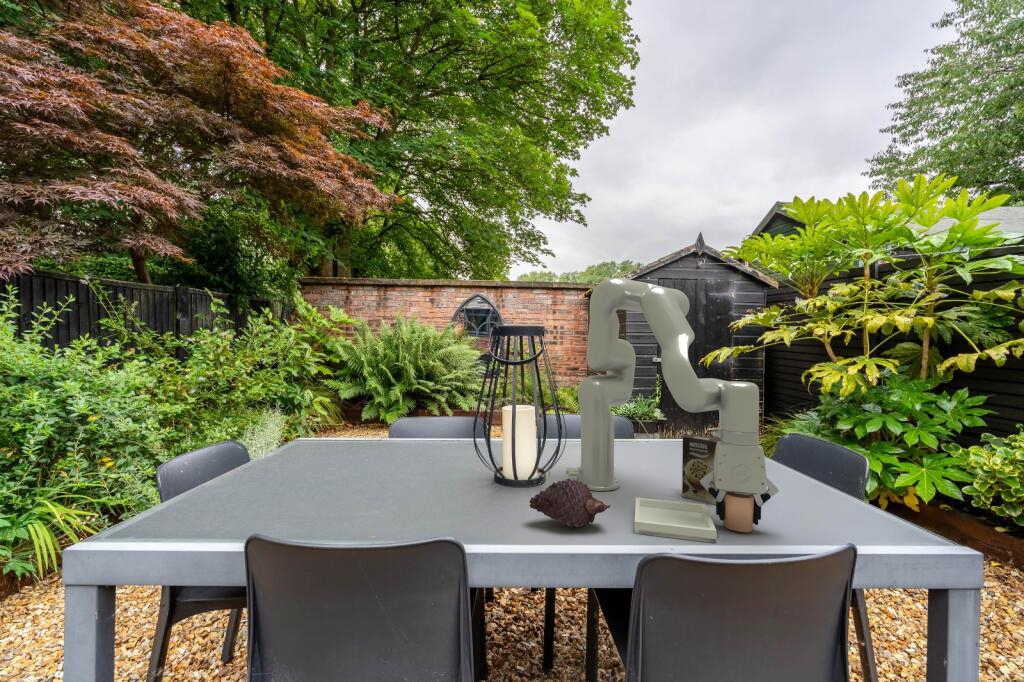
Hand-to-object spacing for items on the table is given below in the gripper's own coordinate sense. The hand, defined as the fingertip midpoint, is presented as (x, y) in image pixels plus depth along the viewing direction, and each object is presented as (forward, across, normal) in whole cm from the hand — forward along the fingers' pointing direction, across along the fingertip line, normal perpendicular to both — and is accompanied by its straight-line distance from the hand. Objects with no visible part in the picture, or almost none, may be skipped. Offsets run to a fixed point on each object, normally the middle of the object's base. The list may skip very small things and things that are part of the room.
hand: (737, 519), depth 97 cm
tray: (+2, -14, -1) cm, 14 cm away
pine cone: (+3, -36, -9) cm, 37 cm away
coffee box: (+2, -5, +20) cm, 20 cm away
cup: (+1, 0, 0) cm, 1 cm away
